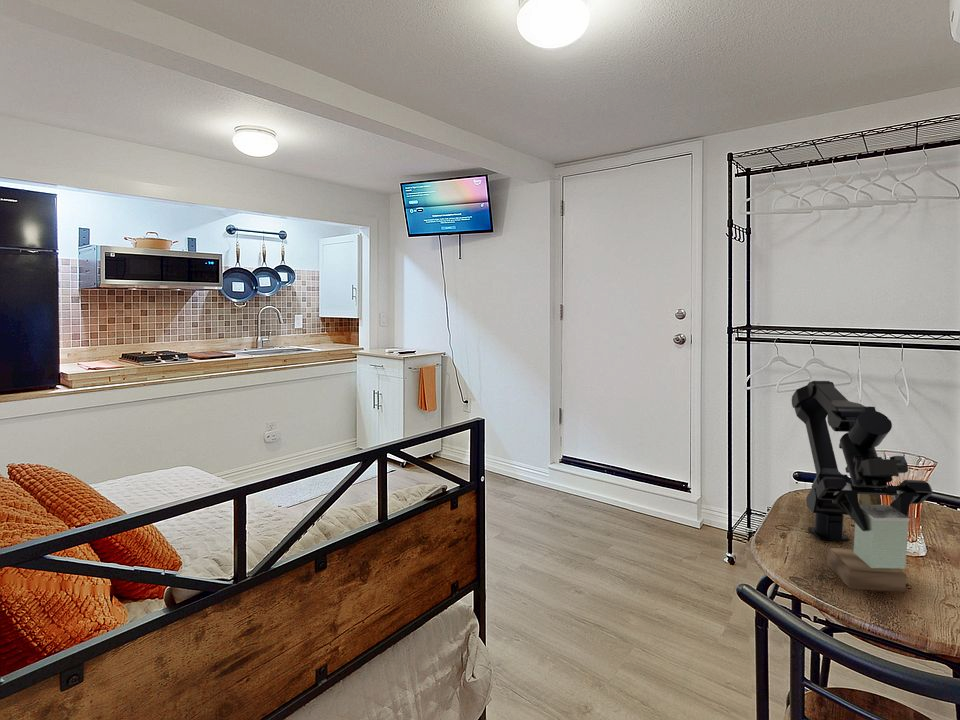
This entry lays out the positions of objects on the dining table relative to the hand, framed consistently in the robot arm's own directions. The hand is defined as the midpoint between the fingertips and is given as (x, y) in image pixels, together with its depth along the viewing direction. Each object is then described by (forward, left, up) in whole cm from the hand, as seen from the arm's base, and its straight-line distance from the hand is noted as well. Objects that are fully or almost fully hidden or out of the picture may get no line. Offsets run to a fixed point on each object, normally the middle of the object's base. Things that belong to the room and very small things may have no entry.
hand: (884, 531), depth 103 cm
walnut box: (-7, +1, -13) cm, 15 cm away
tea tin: (-1, 0, -7) cm, 7 cm away
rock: (-39, +22, -13) cm, 46 cm away
